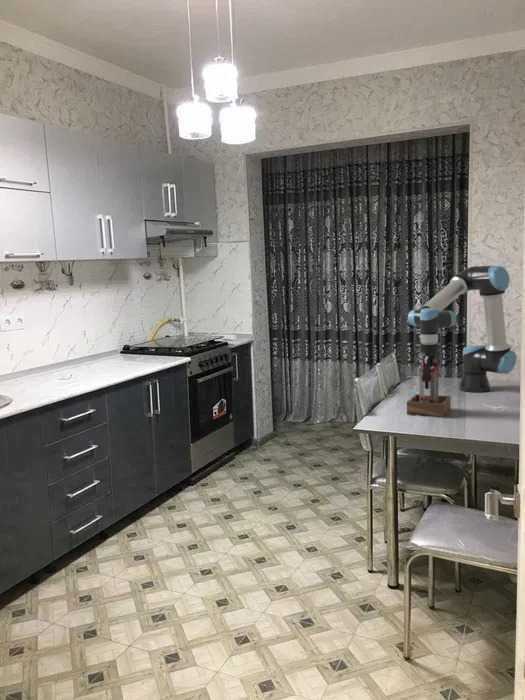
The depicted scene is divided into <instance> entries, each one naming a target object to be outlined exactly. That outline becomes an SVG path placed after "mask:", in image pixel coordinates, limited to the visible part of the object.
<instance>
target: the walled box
mask: <svg viewBox="0 0 525 700" xmlns="http://www.w3.org/2000/svg"><path fill="white" fill-rule="evenodd" d="M451 402H452V401H451V396H450V395H449V396H447V395H438V403H426V402H420V393H414V395H412V396H411V398H409V399H408V400H407V401H406V415H407V414H411V415H410V416H416V415H420V416H419V417H428V416H434V417H433V418H440V417H444V416H445V417H446V415H447V414H448V413H449V412H450V411H451V408H452V407H451ZM435 416H436V417H435ZM445 417H444V418H445Z"/></svg>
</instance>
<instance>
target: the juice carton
mask: <svg viewBox="0 0 525 700" xmlns="http://www.w3.org/2000/svg"><path fill="white" fill-rule="evenodd" d="M418 371H419V372H418V373H419V376H418V377H419V379H418V381H419V394H420V402H426V403H438V396H439V364H438V362H437V358H435V359H433V361H432V366H431V367H430V396H424V381H422V380H423V358H421V363H420V365H419V370H418Z"/></svg>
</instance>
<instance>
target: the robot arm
mask: <svg viewBox="0 0 525 700" xmlns="http://www.w3.org/2000/svg"><path fill="white" fill-rule="evenodd" d="M509 286H510V275H509V271H507V269H506V268H505V267H504V266H502V265H501V266H500V265H481V266H480V265H478V266H475V265H474V266H470V267H467V268H465V269H463V270H461V271H459V272H458V273H457V274H455V275H454V276H453V277H452V278H451V279H450V281H449V283H448V284H447V285H446V286H444V287H443V288H442V289H441V290H440V291H439V292H437V294H435V295H434V296H433V297H431V299H429V300H428V301H427V302H426V303H425V304H423V305H422V306H421V307H420V308H418V309H411V310H410V311H409V312H408V315H407V322H408V324H410V325H411V326H414V327H415V326H416V327H420V328H419V330H420V331H419V332H420V335H419V339H420V341H419V342H420V345H419V348H420V349H419V350H420V352H421V353H424V355H423V358H422V359H423V380H422V381H424V396H430V367H431V366H432V361H433V359H436V354H434V353H437V352H439V349H438V348H439V344H438V342H439V334H438V331H439V330H438V329H445V328H447V329H449V328H451V327H453V326H455V324H456V323H457V315H456V314H455V312H454V311H453V310H444V309H445V308H447V307H448V306H449V305H450V304H451V303H452V302H454V301H455V300H456V299H457V298H458V297H459V296H460V295H464V294H466V293H467V292H468V291H478V293H479V296H480V297H481V298H482V299H483V307H484V320H485V328H486V338H487V345H486V344H477V345H469V346H466V347H465V346H464V348H463V350H462V376H461V379H460V382H459V385H458V386H459V387H458V388H459V391H462V392H467V393H485V392H484V391H486V392H488V390H489V391H491V384H490V382H489V379H488V375H487V372H490V373H496V374H499V375H500V374H501V375H502V374H503V375H504V374H506V375H507V374H510V373H511V372H512V371H513V370H514V368H515V366H516V363H517V354H516V352H515V351H513V350H511V345H510V344H509V343H507V335H506V334H507V333H506V323H505V313H504V312H505V311H504V304H503V303H504V302H503V296H504V294H505V293H506V290H507V289H508V288H509Z"/></svg>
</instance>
